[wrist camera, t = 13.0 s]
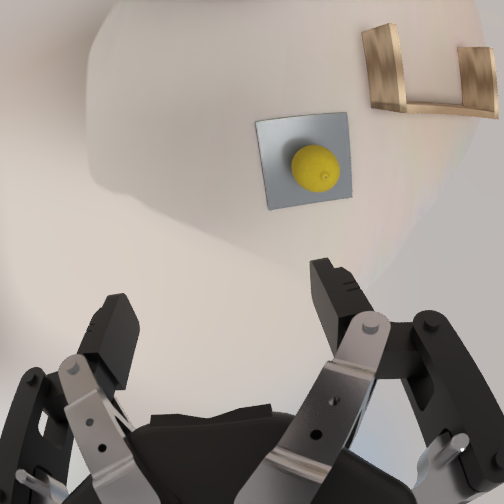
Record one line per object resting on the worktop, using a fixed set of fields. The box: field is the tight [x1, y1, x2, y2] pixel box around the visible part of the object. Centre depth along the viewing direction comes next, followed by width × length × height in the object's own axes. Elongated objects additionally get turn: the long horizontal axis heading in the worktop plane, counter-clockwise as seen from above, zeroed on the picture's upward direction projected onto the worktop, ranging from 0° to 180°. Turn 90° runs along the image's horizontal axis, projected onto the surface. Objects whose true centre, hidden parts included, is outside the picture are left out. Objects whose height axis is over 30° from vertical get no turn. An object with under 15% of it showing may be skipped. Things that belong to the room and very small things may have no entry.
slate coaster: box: [255, 112, 352, 210], centre depth 37 cm, size 12×12×1 cm
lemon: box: [291, 145, 340, 193], centre depth 34 cm, size 6×6×8 cm
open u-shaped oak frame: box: [362, 23, 498, 119], centre depth 28 cm, size 11×19×8 cm, turn 99°
